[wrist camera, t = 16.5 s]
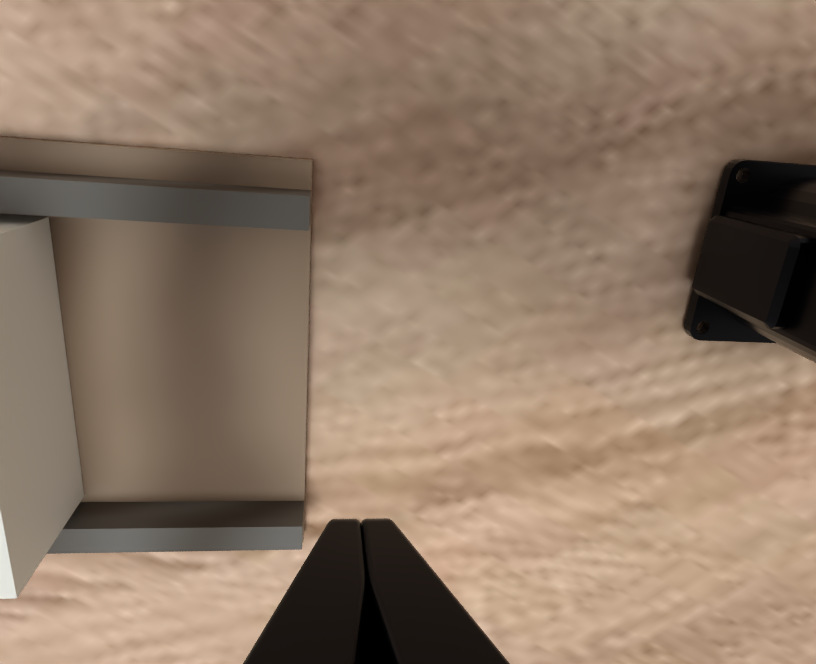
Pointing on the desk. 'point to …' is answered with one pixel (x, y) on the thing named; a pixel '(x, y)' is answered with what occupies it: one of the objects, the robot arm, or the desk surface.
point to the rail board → (178, 338)
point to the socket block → (32, 404)
